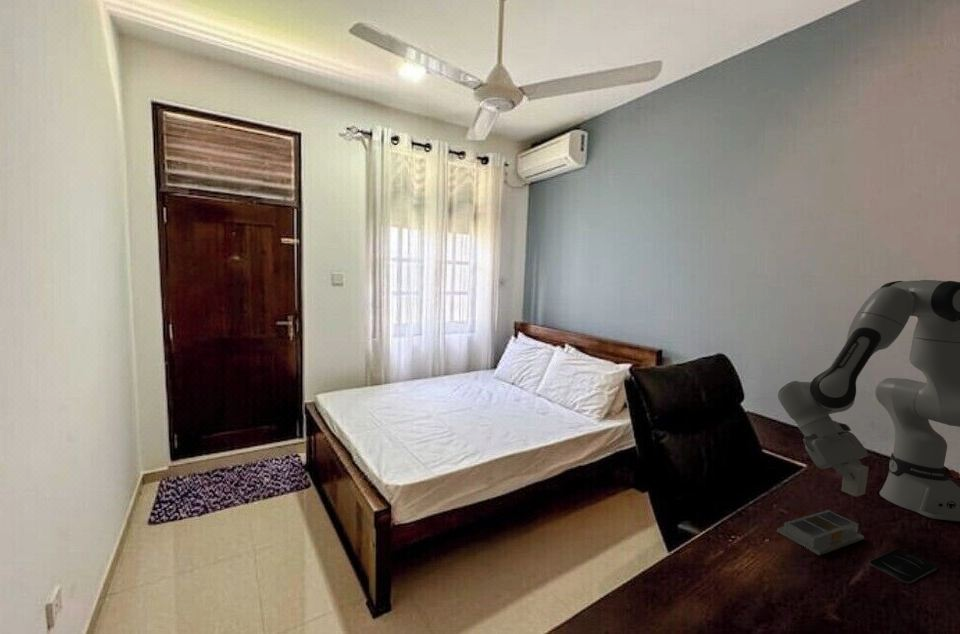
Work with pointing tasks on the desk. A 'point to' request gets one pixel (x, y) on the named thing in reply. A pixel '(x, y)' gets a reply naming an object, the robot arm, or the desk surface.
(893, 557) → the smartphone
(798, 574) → the desk surface
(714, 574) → the desk surface
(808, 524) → the rack
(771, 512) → the desk surface
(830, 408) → the robot arm
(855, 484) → the block
